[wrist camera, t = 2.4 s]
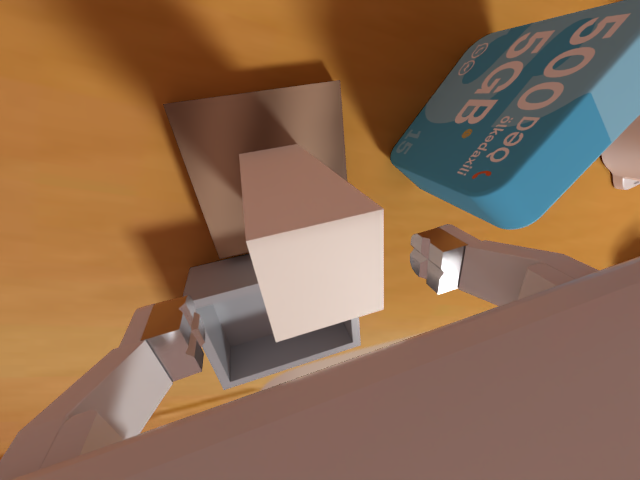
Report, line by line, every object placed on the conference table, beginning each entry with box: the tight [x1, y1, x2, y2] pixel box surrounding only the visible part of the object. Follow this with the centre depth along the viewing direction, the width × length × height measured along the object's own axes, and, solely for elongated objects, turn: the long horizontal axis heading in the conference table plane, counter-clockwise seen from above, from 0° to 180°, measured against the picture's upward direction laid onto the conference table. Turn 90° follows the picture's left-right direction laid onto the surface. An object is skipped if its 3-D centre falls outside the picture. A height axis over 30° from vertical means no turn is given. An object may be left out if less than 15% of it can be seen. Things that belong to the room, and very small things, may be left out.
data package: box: [390, 0, 640, 229], centre depth 19 cm, size 12×4×12 cm, turn 143°
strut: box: [239, 144, 384, 342], centre depth 15 cm, size 4×4×14 cm
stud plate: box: [163, 80, 347, 259], centre depth 21 cm, size 12×12×4 cm
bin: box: [183, 253, 361, 390], centre depth 26 cm, size 14×11×5 cm
